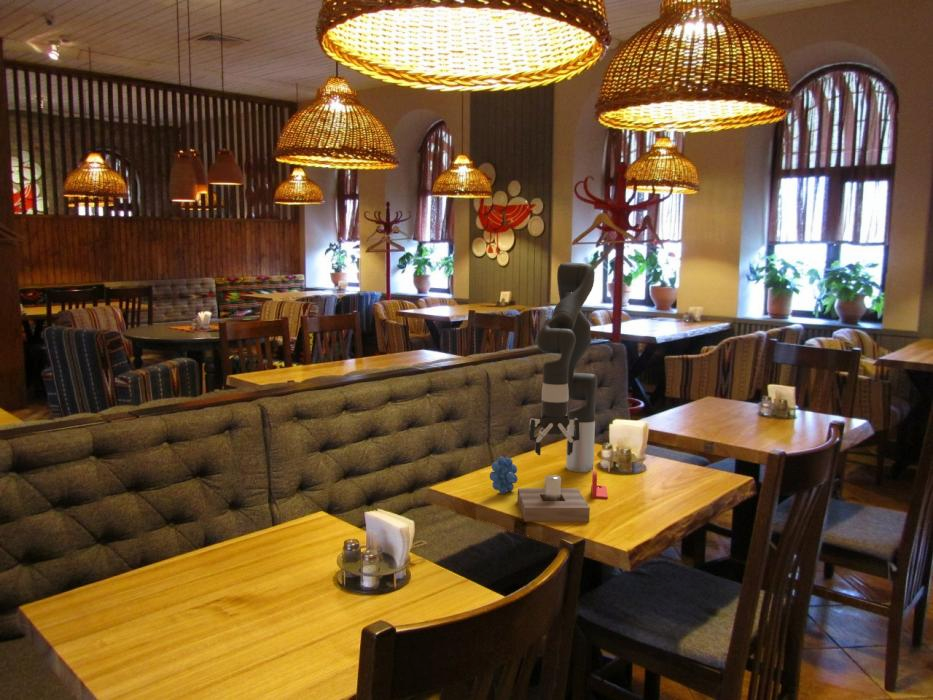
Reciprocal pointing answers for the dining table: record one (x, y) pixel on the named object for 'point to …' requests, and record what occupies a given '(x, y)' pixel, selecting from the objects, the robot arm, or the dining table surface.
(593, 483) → the bracket
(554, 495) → the peg
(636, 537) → the dining table surface
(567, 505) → the socket block
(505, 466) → the grapes
